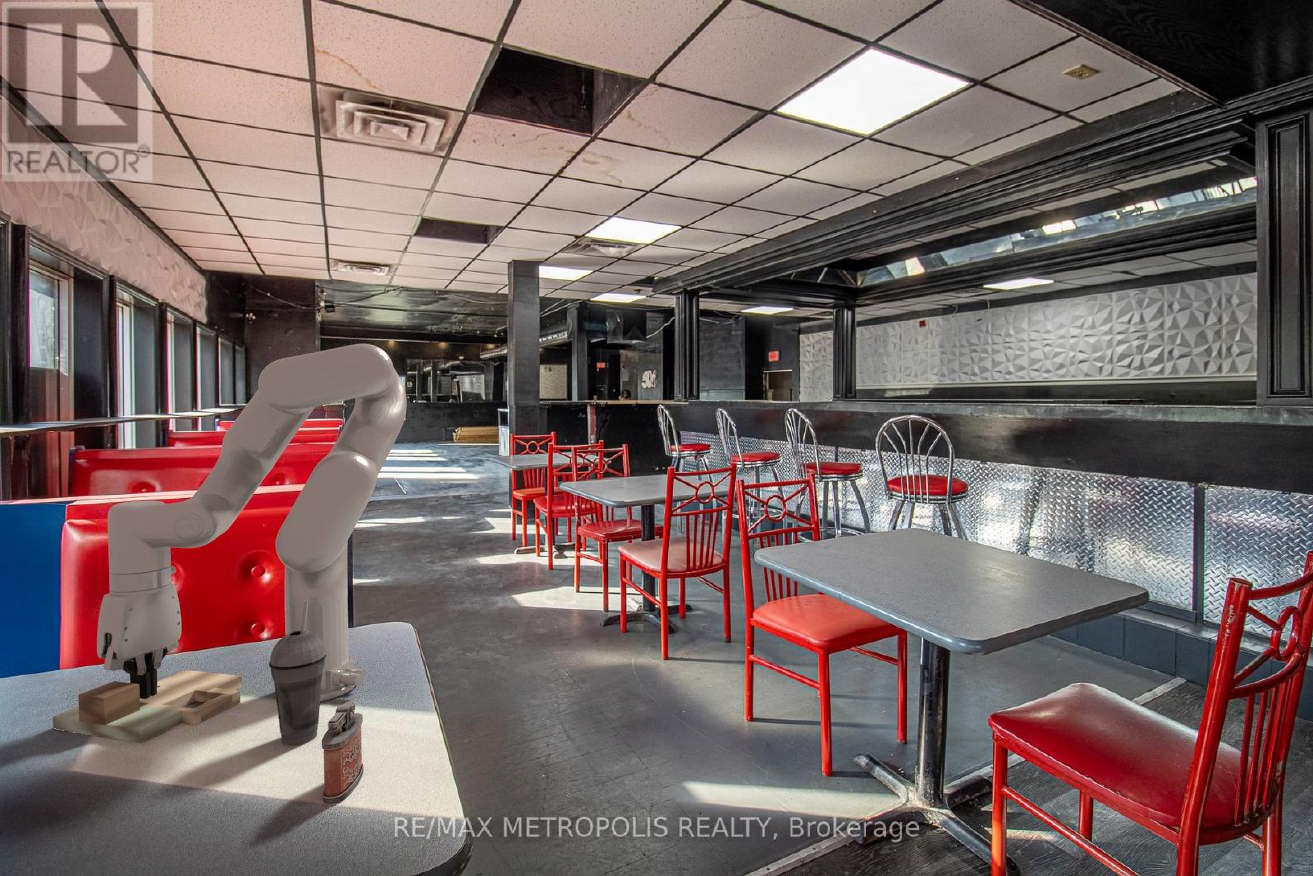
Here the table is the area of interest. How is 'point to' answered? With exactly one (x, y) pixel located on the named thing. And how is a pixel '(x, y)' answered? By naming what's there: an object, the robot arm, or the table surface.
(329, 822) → the table surface
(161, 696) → the board
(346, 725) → the lighter
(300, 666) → the beverage cup
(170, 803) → the table surface
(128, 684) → the walnut block
